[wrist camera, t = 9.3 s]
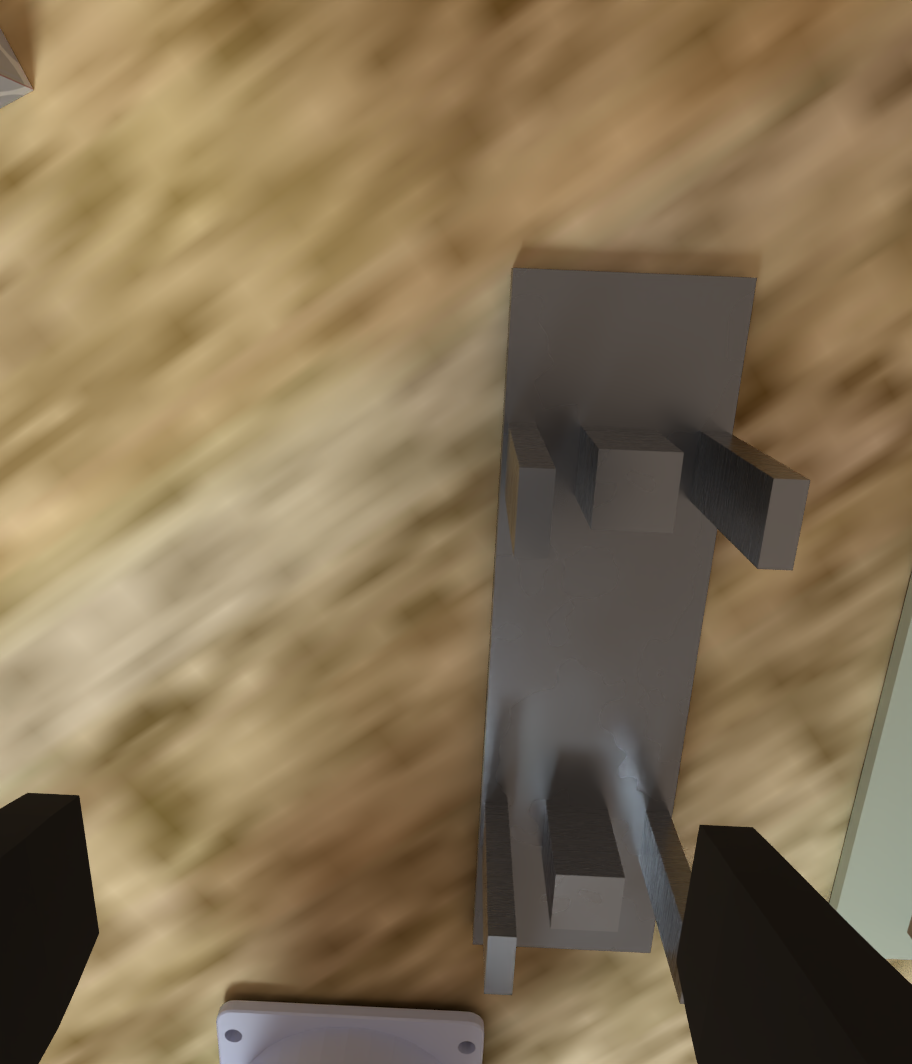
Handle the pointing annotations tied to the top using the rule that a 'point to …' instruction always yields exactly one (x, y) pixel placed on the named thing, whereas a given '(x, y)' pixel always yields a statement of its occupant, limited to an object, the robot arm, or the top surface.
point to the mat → (883, 817)
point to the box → (11, 75)
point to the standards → (608, 598)
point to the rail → (910, 929)
